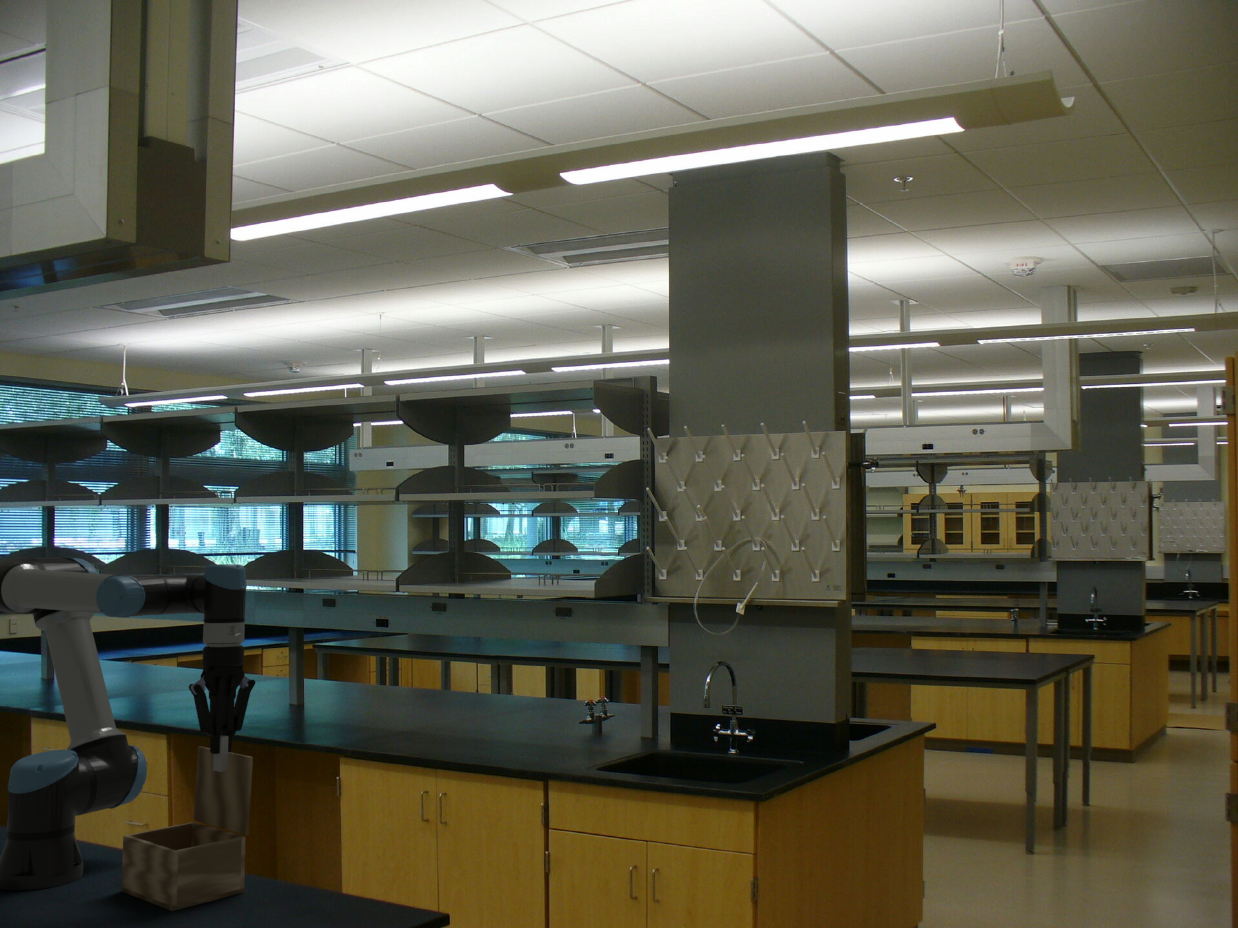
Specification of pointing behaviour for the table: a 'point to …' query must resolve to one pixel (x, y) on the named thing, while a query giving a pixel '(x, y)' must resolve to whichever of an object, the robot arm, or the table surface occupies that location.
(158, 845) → the brown wooden box
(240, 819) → the lid
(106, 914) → the table surface
